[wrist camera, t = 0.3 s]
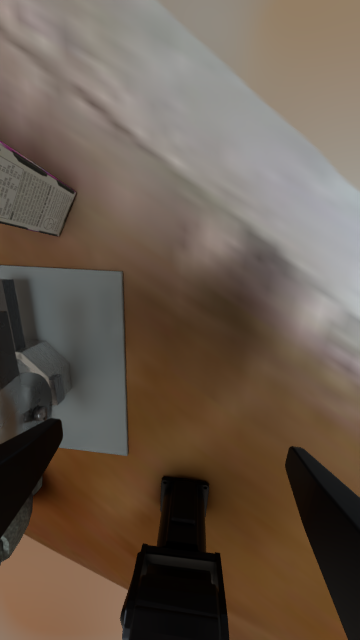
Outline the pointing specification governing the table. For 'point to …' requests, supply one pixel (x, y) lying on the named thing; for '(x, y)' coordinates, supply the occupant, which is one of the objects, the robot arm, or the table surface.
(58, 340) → the slate board
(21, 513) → the mortar and pestle
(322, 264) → the table surface
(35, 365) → the cooker pot
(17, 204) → the candy bar box
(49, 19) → the table surface
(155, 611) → the robot arm
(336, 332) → the table surface
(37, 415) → the lid
